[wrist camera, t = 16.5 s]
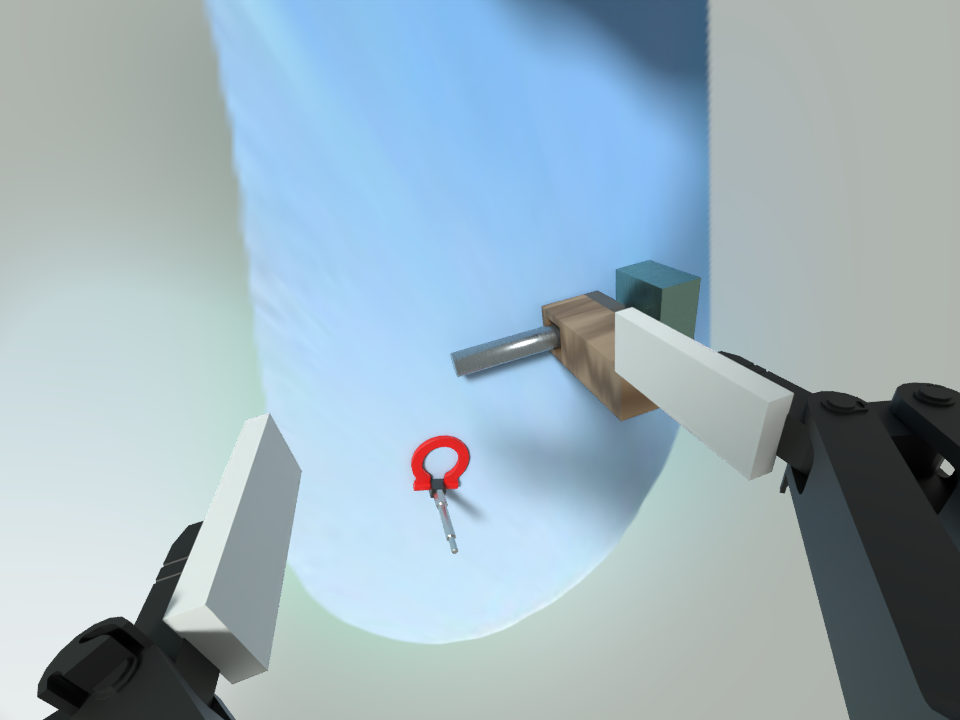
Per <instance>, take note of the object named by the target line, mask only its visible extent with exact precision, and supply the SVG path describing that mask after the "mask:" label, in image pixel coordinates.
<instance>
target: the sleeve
mask: <svg viewBox="0 0 960 720" xmlns="http://www.w3.org/2000/svg"><path fill="white" fill-rule="evenodd" d="M542 316H543V326H547V325H550V324H554V323H555V324H556V325H557V326H558V327H559V328H560V339H561V346H560V347H557V348H554V349H550V350H549V351H550V352H551V353H552V354H553V355H554V356H555V357H556V358H557V359H558V360H559V361H560V362H561V363H562V364H563V365H564V366H565V367H566V368H567V369H568V370H569V371H570V372H571V373H572V374H573V375H574V376H575V377H577V378H578V379H579V380H580V381H581V382H582V383H583V384H584V385H585V386H586V387H587V388H588V389H589V390H590V391H591V392H592V393H593V394H594V395H595V396H596V397H597V398H598V399H599V400H600V401H601V402H602V403H603V404H604V405H605V406H606V407H607V408H608V409H609V410H610V411H611V412H612V413H613V414H614V415H615V416H616V417H617V418H618V419H619V420H620V421H623V420H626V419H629V418H632V417H635V416H638V415H641V414H643V413H646V412H649V411H652V410H655V409H658V408H660V407H658V406H657V405H656V404H655V403H653V402H652V401H651V400H650V399H649V398H647V397H646V396H645V395H644V394H642V393H641V392H640V391H639V390H637V389H636V388H635V387H634V386H633V385H631V384H630V383H629V382H628V381H626V380H625V379H624V378H623V377H621V376H620V375H619V374H618V373H617V372H615V312H613V311H611V310H609V309H608V308H606V307H604V306H603V305H601V304H599V303H598V302H596V301H594V300H592V299H591V298H589V297H587V296H586V295H580V296H577V297H573V298H569V299H566V300H562V301H559V302H555V303H551V304H548V305H544V306H542Z"/></svg>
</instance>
